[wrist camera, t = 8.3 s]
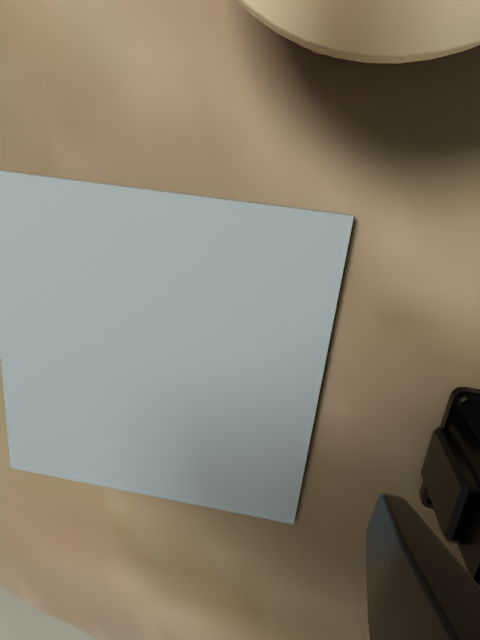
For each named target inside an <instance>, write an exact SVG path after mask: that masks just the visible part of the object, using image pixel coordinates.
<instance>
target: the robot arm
mask: <svg viewBox="0 0 480 640" xmlns="http://www.w3.org/2000/svg"><path fill="white" fill-rule="evenodd" d="M463 396H467V397H468V398H467V400H466V401H464V402H459V399H460V398H461V397H463ZM421 475H422V478H423V483H422V486H421V490H420V498H421V501H422V503H423V505H424V506H426V507H428V508H432V509H434V511H435V514H436V517H437V519H438V522H439V525H440V528H441V531H442V533H443V536H444V537H445V538H446V540H447V541H448V542H450V543H455V544H457V545H458V548H459V550H460V553H461V555H462V558H463V560H464V563H465V566H466V568H467V571H468V572H467V571H466V570H465V569H464V567H463V566H462V565H461V564H460V563H459V562H458V561H457V559H456V558H455V557H454V556H453V555H452V554H451V552H450V551H449V550H448V549H447V548H446V547H445V545H444V544H443V543H442V542H441V541H440V540H439V538H438V537H437V536H436V535H435V534H434V533H433V532H432V530H431V529H430V528H429V527H428V526H427V525H426V523H425V522H424V521H423V520H422V519H421V518H420V516H419V515H418V514H417V513H416V512H415V511H414V510H413V508H412V507H411V506H410V505H409V504H408V503H407V501H406V500H405V499H404V498H402V497H399V496H395V495H391V494H387V493H382V494H380V496H379V497H378V499H377V502H376V505H375V508H374V510H373V513H372V516H371V519H370V522H369V525H368V529H367V598H368V624H369V634H370V640H480V389H473V388H467V387H459V388H456V389H455V390H454V391H452V393H451V395H450V398H449V401H448V404H447V407H446V410H445V413H444V417H443V420H442V423H441V426H440V427H438V428H437V429H436V430H434V432H433V435H432V438H431V441H430V444H429V448H428V451H427V454H426V457H425V461H424V464H423V467H422V470H421ZM428 497H430V498H428Z"/></svg>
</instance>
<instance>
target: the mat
mask: <svg viewBox="0 0 480 640" xmlns="http://www.w3.org/2000/svg"><path fill="white" fill-rule="evenodd" d="M353 219H354V216H353V215H349V214H342V213H334V212H326V211H318V210H310V209H302V208H294V207H286V206H278V205H271V204H263V203H255V202H247V201H239V200H231V199H223V198H215V197H207V196H200V195H192V194H184V193H176V192H168V191H160V190H152V189H144V188H136V187H129V186H121V185H113V184H105V183H97V182H89V181H81V180H73V179H65V178H58V177H50V176H42V175H34V174H26V173H18V172H10V171H2V170H0V354H1V365H2V377H3V388H4V399H5V410H6V422H7V433H8V444H9V455H10V466H11V468H14V469H19V470H24V471H29V472H34V473H39V474H44V475H49V476H54V477H59V478H64V479H69V480H74V481H79V482H84V483H89V484H94V485H99V486H104V487H109V488H114V489H119V490H124V491H129V492H134V493H139V494H144V495H149V496H154V497H159V498H164V499H169V500H174V501H179V502H184V503H189V504H194V505H199V506H204V507H209V508H214V509H219V510H224V511H229V512H234V513H239V514H244V515H249V516H254V517H259V518H264V519H269V520H274V521H279V522H284V523H289V524H294V520H295V515H296V510H297V505H298V500H299V495H300V489H301V484H302V479H303V474H304V469H305V464H306V459H307V454H308V449H309V443H310V438H311V433H312V428H313V423H314V418H315V413H316V408H317V403H318V398H319V392H320V387H321V382H322V377H323V372H324V367H325V362H326V357H327V352H328V346H329V341H330V336H331V331H332V326H333V321H334V316H335V311H336V306H337V300H338V295H339V290H340V285H341V280H342V275H343V270H344V265H345V260H346V255H347V249H348V244H349V239H350V234H351V229H352V224H353Z"/></svg>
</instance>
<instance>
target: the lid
mask: <svg viewBox="0 0 480 640" xmlns="http://www.w3.org/2000/svg"><path fill="white" fill-rule="evenodd" d="M236 1H237V2H238V3H239V4H240V5H241V6H242V7H243V8H244V9H246V10H247V11H248V12H249V13H250V14H251V15H252V16H253V17H255V18H256V19H257V20H259V21H260V22H262V23H263V24H264V25H266V26H267V27H269V28H270V29H271V30H273V31H274V32H276V33H277V34H279V35H281V36H283V37H285V38H287V39H289V40H291V41H293V42H295V43H297V44H298V45H300V46H302V47H304V48H307V49H310V50H313V51H316V52H319V53H322V54H325V55H328V56H331V57H334V58H339V59H345V60H351V61H357V62H363V63H393V64H399V63H407V62H415V61H424V60H432V59H435V58H439V57H443V56H447V55H451V54H455V53H458V52H462V51H466V50H468V49H471V48H473V47H476V46H478V45H480V0H236Z"/></svg>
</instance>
